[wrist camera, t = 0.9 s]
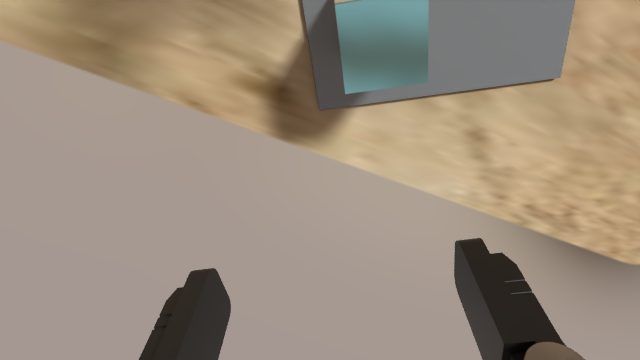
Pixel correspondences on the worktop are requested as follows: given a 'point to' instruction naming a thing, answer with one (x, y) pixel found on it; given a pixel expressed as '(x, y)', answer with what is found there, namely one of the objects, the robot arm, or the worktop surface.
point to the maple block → (382, 43)
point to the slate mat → (454, 48)
